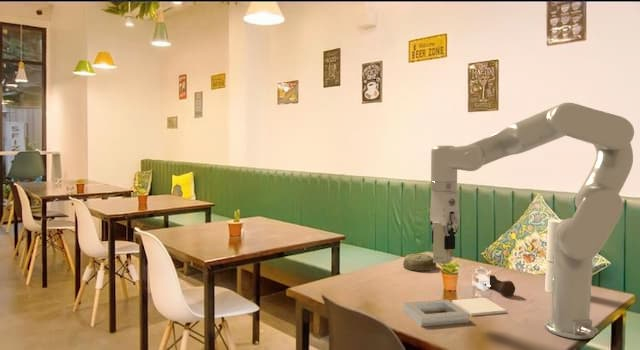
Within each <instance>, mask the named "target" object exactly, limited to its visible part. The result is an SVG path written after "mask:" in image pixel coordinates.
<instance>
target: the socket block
mask: <svg viewBox="0 0 640 350" xmlns="http://www.w3.org/2000/svg"><path fill="white" fill-rule="evenodd" d="M402 303H403V304H402V309H403V310H402V311H403V312H404V313H405V314H406V315H407V316H409V317H410V318H411V319H412V320H413V321H414V322H415V323H417V324H418V325H419V326H420V327H429V326H430V327H431V326H432V327H434V326H443V325H444V326H445V325H454V324H465V323H469V322H470V314H468V313H467V312H465V311H464V310H463V309H461V308H460V307H458V306H457V305H455V304H454V303H452V300H449V299H447V298H446V299H436V300H435V299H433V300H423V301H422V300H421V301H411V302H410V301H409V302H402ZM440 311H444V312H440ZM428 312H435V313H428ZM436 312H437V313H436Z"/></svg>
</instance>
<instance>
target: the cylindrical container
mask: <svg viewBox="0 0 640 350" xmlns="http://www.w3.org/2000/svg"><path fill="white" fill-rule="evenodd" d="M562 220H563V219H555V218H552V219H548V220H547V233H546V234H547V235H546V236H547V238H546V239H547V240H546V254H545V255H546V259H545V260H546V261H545V280H544V281H545V282H544V283H545V285H544V290H545V292H547V293H549V294H552V289H553V270H554V240H553V238H554V231H555V228H556V226H557V225H558V224H559V223H560V222H561V221H562Z"/></svg>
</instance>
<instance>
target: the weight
mask: <svg viewBox="0 0 640 350" xmlns="http://www.w3.org/2000/svg"><path fill="white" fill-rule="evenodd" d="M402 265H403V268H404V269H407V270H408V271H415V272H427V271H433V270H434V269H436V268H437V263H433V256H431V255H429V254H426V253H409V254H407V255H406V256H405V257H404V260H403V264H402Z"/></svg>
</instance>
